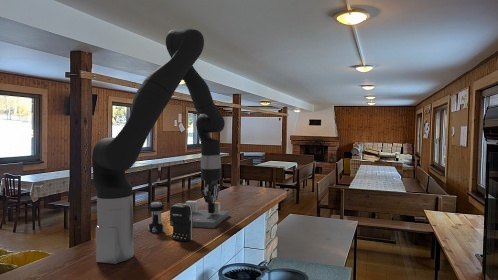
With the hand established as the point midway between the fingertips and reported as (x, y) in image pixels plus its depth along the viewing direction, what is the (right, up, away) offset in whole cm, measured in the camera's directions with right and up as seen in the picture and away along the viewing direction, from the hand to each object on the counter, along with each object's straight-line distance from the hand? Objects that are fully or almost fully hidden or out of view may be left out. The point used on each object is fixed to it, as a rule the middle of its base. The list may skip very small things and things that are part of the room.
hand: (211, 212), depth 134 cm
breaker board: (-5, -4, +3) cm, 7 cm away
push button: (-18, -4, -11) cm, 22 cm away
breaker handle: (+1, -1, +4) cm, 4 cm away
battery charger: (-8, -5, -21) cm, 23 cm away
